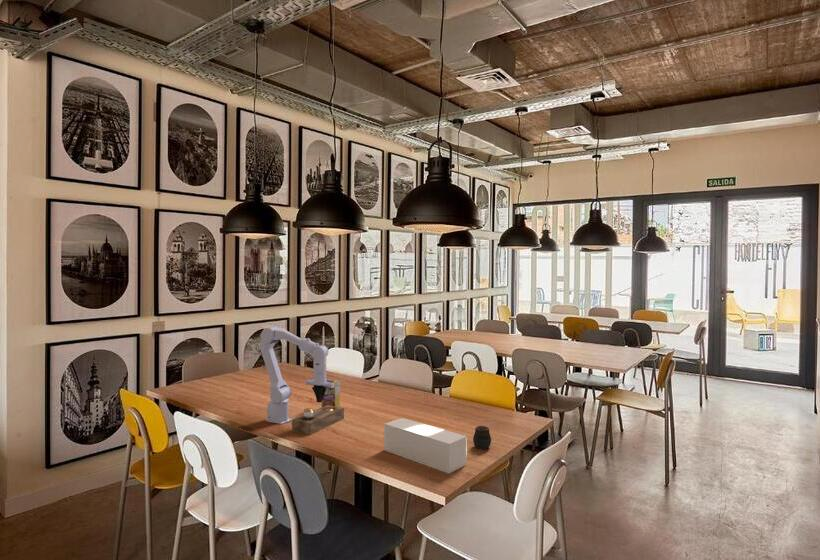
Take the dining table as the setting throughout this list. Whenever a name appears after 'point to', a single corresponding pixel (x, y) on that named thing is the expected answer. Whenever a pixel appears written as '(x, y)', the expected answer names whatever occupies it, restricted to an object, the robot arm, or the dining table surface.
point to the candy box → (332, 394)
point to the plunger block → (318, 420)
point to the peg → (308, 414)
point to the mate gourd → (482, 437)
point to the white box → (426, 444)
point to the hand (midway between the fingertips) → (319, 401)
